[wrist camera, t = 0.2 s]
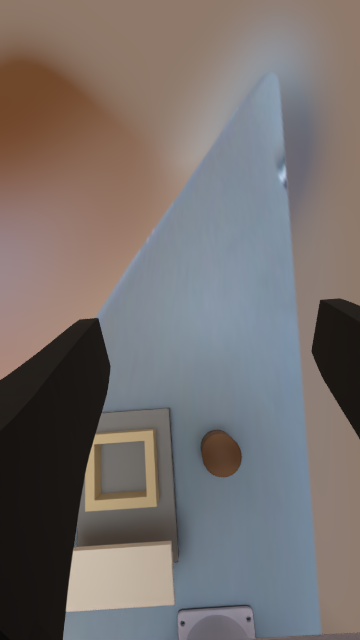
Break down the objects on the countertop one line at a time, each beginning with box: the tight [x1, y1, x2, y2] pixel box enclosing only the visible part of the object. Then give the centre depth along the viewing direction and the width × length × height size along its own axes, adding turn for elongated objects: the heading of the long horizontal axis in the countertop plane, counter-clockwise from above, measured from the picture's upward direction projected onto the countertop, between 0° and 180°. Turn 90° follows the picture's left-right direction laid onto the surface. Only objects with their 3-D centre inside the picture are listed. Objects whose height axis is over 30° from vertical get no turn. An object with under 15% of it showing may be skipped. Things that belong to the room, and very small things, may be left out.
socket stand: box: [66, 408, 179, 612], centre depth 33 cm, size 16×11×9 cm
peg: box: [201, 430, 242, 477], centre depth 35 cm, size 4×4×6 cm
